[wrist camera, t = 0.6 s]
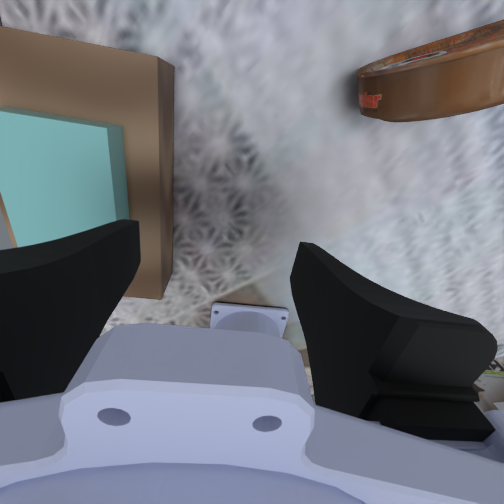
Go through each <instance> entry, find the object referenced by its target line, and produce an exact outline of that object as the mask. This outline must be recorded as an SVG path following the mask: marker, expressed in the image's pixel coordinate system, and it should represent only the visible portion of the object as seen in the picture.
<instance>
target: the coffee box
mask: <svg viewBox="0 0 504 504" xmlns="http://www.w3.org/2000/svg"><path fill="white" fill-rule="evenodd" d="M471 387H472V388H473V390H474V391H475V392H476V393H477V394H478V396H479V400H478V401H477V402H474V403H475V404H476V405H477V407H478V408H479V409H480V411H481V412H482V413H485V412H487V411H490V410H504V366H503V365H502V364H501V363H500V362H499V361H498V360H497V359H496V358H494V360H493V361H492V363H491V364H490V365H489V367H488V368H487V369H486V370H485V371H484V372H483V373H482V375H481V376H480V377H479V378H478V379H477V380H476V381H475V382H474V383H473V384H472V386H471Z"/></svg>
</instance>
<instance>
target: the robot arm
mask: <svg viewBox="0 0 504 504" xmlns="http://www.w3.org/2000/svg"><path fill="white" fill-rule="evenodd" d="M140 263H141V251H140V230H139V221H136V220H128V219H121V220H117V221H113V222H110V223H107V224H104V225H101V226H98V227H95V228H92V229H89V230H86V231H83V232H80V233H76V234H73V235H70V236H66V237H63V238H59V239H56V240H52V241H47V242H43V243H38V244H34V245H29V246H23V247H17V248H10V249H4V250H0V504H504V410H490V411H487V412H485V413H482V412H481V411H480V409H479V408H478V407H477V405H476V404H475V403H474V402H477V401H478V400H479V396H478V394H477V393H476V392H475V391H474V390H473V388H472V387H471V386H472V384H473V383H474V382H475V381H476V380H477V379H478V378H479V377H480V376H481V375H482V373H483V372H484V371H485V370H486V369H487V368H488V367H489V365H490V364H491V363H492V361H493V360H494V358H495V355H496V352H497V341H496V339H495V338H494V336H493V335H492V334H491V333H490V332H489V331H488V330H487V329H486V328H485V327H483V326H482V325H481V324H480V323H479V322H478V321H476V320H474V319H471V318H467V317H464V316H461V315H457V314H454V313H450V312H447V311H443V310H440V309H437V308H434V307H431V306H428V305H425V304H422V303H420V302H417V301H414V300H412V299H409V298H407V297H404V296H402V295H400V294H397V293H395V292H393V291H390V290H388V289H386V288H384V287H382V286H380V285H378V284H376V283H374V282H372V281H371V280H369V279H367V278H365V277H363V276H362V275H360V274H358V273H357V272H355V271H354V270H352V269H350V268H349V267H347V266H346V265H344V264H343V263H342V262H340V261H339V260H337V259H336V258H334V257H333V256H332V255H330V254H329V253H328V252H326V251H325V250H323V249H322V248H320V247H319V246H317V245H315V244H313V243H307V242H300V244H299V247H298V251H297V254H296V258H295V262H294V265H293V269H292V272H291V276H290V283H291V291H292V296H293V300H294V303H295V307H296V310H297V313H298V317H299V320H300V323H301V326H302V330H303V333H304V337H305V341H306V345H307V351H308V356H309V362H310V368H311V374H312V381H313V388H314V395H315V403H316V405H314V404H313V400H312V396H311V392H310V388H309V384H308V380H307V376H306V372H305V368H304V364H303V360H302V356H301V354H300V353H299V352H298V351H297V350H296V349H295V348H294V346H293V345H292V344H291V343H290V342H289V341H288V340H285V339H282V337H283V334H284V330H285V327H286V324H287V320H288V317H289V311H288V310H287V309H282V308H271V307H260V306H249V305H238V304H227V303H214V304H213V305H212V310H211V320H210V328H199V327H187V326H175V325H163V324H152V323H139V324H130V325H121V326H115V327H114V328H112V329H111V330H109V331H108V332H106V333H105V334H103V335H102V336H100V334H101V332H102V330H103V328H104V326H105V324H106V322H107V320H108V319H109V317H110V315H111V314H112V312H113V311H114V309H115V308H116V306H117V304H118V303H119V301H120V300H121V298H122V297H123V295H124V294H125V292H126V290H127V289H128V287H129V286H130V284H131V282H132V281H133V279H134V277H135V275H136V272H137V270H138V268H139V265H140ZM215 311H218V312H215ZM282 317H283V318H282ZM99 336H100V337H99Z"/></svg>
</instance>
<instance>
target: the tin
mask: <svg viewBox="0 0 504 504" xmlns="http://www.w3.org/2000/svg"><path fill="white" fill-rule="evenodd" d="M356 75H357V77H358V87H359V108H360V113H361V114H362V115H364V116H367V117H371V118H376V119H381V120H384V121H388V122H411V121H422V120H431V119H438V118H444V117H450V116H455V115H460V114H465V113H469V112H474V111H479V110H482V109H486V108H490V107H494V106H497V105H501V104H504V20H501V21H498V22H495V23H491V24H488V25H485V26H482V27H479V28H476V29H473V30H470V31H467V32H464V33H460V34H457V35H454V36H451V37H448V38H445V39H442V40H439V41H435V42H432V43H429V44H426V45H423V46H420V47H416V48H413V49H410V50H407V51H404V52H401V53H398V54H395V55H392V56H389V57H387V58H384V59H381V60H378V61H376V62H373V63H371V64H368V65H366V66H364V67H362V68H360V69H359V70H357V72H356Z"/></svg>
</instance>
